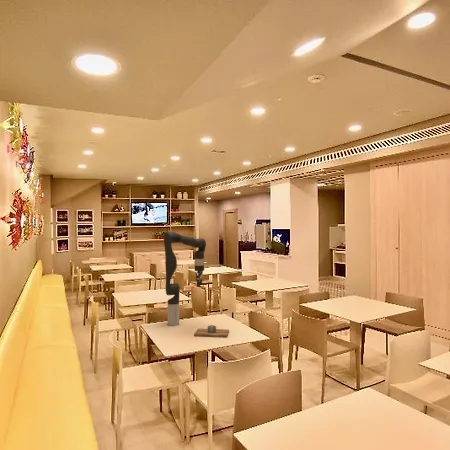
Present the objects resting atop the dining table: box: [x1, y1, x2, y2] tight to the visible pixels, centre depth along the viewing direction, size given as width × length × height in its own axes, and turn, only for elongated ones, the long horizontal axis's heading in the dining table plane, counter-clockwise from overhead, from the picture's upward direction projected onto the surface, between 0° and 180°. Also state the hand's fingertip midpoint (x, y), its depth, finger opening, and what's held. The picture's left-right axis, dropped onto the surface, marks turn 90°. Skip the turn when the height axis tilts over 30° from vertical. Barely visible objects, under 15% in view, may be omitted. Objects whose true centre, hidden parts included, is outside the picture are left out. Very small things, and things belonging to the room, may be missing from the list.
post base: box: [193, 325, 230, 339], centre depth 267 cm, size 14×24×6 cm, turn 83°
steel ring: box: [207, 324, 217, 333], centre depth 267 cm, size 6×6×4 cm
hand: (199, 285), depth 276 cm, fingers open, 8 cm apart
